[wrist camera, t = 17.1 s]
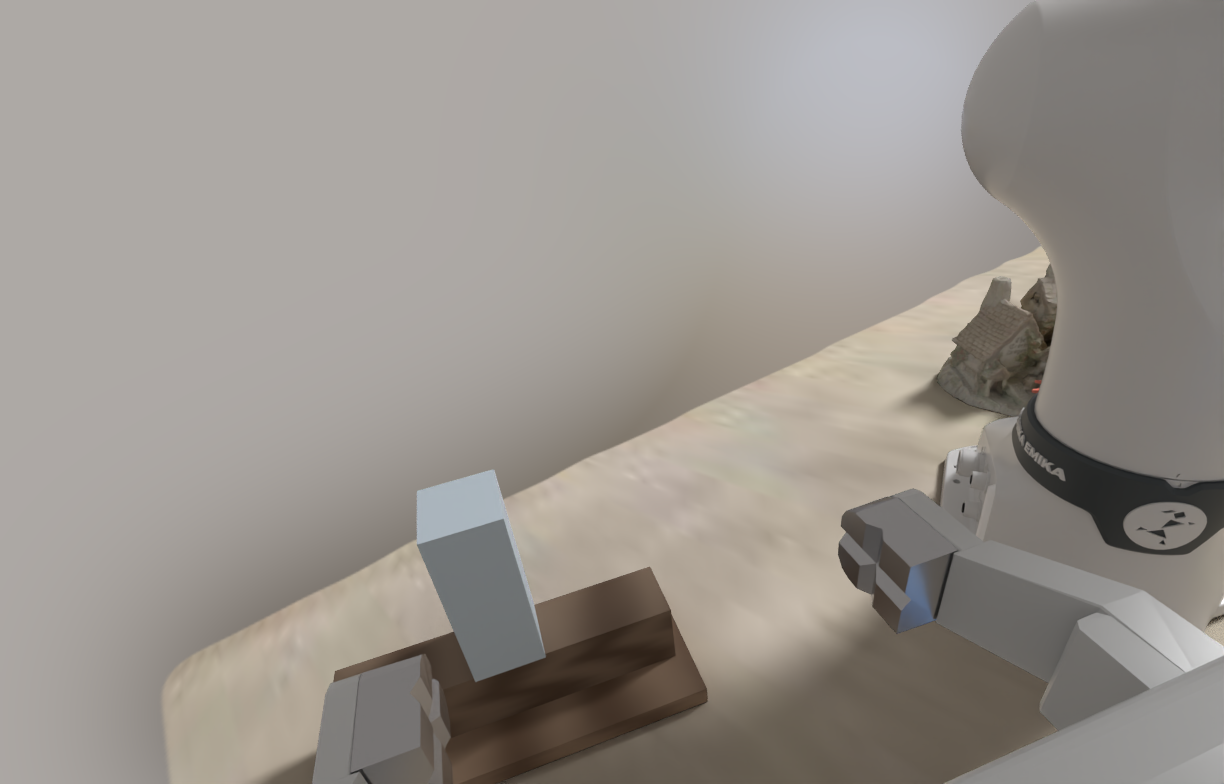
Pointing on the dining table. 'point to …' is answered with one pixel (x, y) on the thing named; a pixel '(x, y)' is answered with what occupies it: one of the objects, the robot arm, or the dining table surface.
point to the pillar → (479, 573)
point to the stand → (563, 681)
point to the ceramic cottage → (1003, 348)
